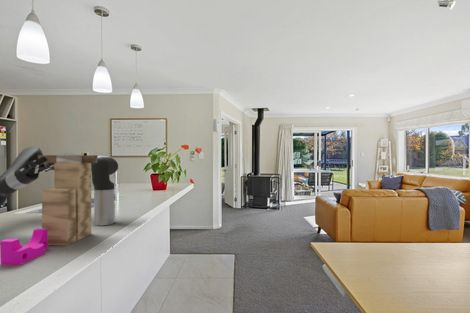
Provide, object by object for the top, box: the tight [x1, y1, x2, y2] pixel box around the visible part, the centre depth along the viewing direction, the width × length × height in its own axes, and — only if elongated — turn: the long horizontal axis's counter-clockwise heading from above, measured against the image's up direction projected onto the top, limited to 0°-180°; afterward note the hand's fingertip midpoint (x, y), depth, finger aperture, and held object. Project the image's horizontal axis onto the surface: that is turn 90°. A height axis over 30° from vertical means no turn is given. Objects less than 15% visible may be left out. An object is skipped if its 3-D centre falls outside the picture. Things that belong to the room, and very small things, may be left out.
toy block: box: [0, 228, 49, 266], centre depth 94 cm, size 15×6×8 cm, turn 176°
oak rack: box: [41, 154, 92, 246], centre depth 113 cm, size 16×10×34 cm, turn 176°
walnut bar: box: [38, 154, 98, 163], centre depth 116 cm, size 3×24×3 cm, turn 86°
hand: (53, 157), depth 116 cm, fingers open, 8 cm apart
